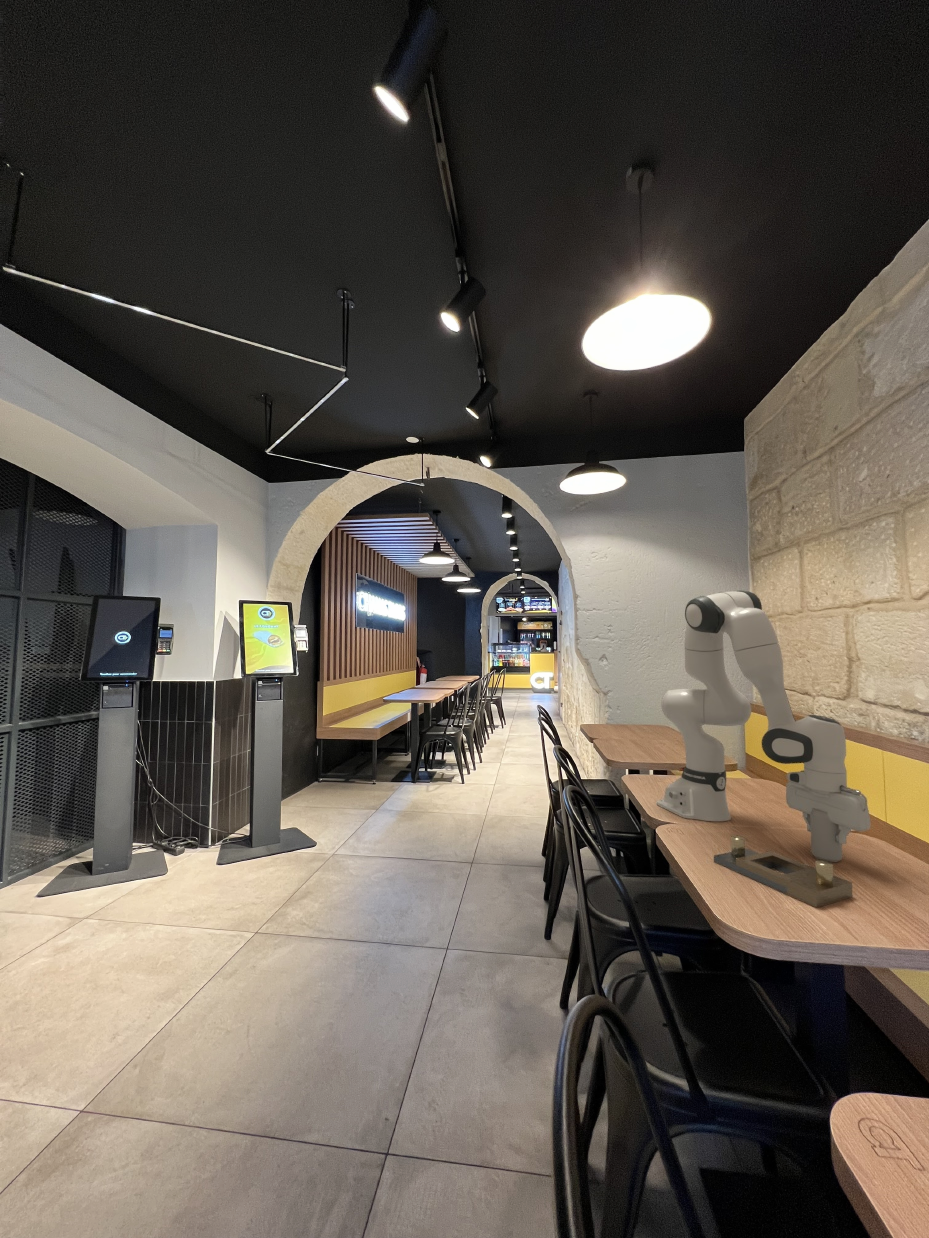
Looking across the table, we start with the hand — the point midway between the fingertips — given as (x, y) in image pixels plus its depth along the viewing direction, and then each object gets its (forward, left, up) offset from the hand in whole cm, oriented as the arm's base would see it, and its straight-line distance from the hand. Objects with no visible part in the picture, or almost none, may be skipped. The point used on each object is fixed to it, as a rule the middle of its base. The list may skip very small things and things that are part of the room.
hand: (826, 837), depth 129 cm
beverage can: (0, 0, -5) cm, 5 cm away
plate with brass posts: (+3, -23, -5) cm, 24 cm away
